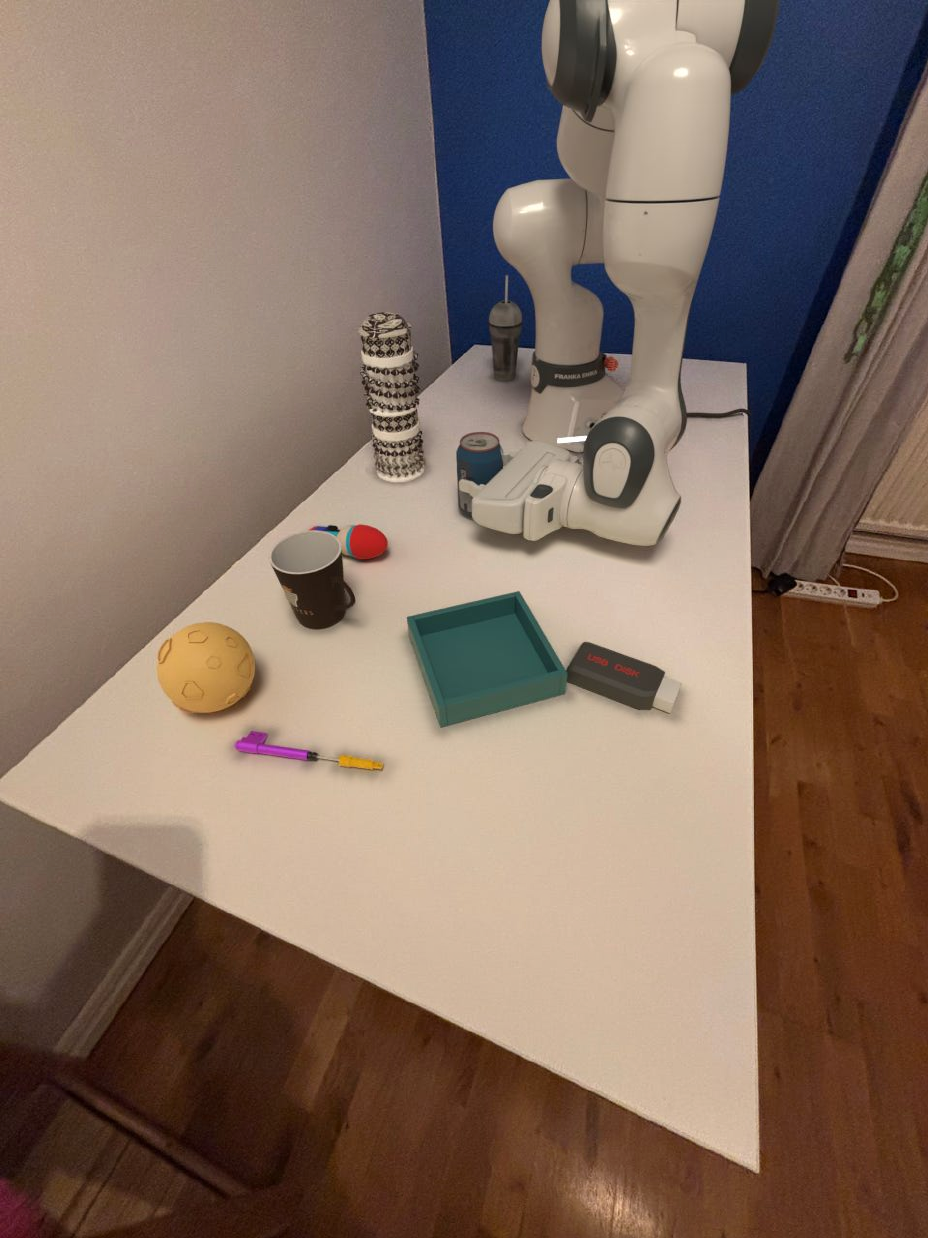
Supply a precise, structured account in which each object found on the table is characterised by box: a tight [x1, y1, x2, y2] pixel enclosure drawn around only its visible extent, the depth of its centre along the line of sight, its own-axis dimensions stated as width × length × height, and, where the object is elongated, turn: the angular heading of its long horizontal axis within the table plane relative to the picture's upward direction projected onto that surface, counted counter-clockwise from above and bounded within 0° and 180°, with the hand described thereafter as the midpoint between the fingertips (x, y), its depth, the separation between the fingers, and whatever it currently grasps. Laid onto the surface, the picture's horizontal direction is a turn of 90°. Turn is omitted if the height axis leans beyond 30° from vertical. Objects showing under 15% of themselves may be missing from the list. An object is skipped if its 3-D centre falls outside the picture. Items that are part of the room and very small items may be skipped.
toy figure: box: [309, 523, 389, 560], centre depth 87 cm, size 8×5×15 cm
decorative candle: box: [356, 311, 426, 483], centre depth 96 cm, size 9×9×25 cm
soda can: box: [455, 431, 504, 521], centre depth 90 cm, size 7×7×12 cm
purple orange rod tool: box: [234, 730, 384, 771], centre depth 62 cm, size 3×1×16 cm
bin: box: [406, 590, 568, 728], centre depth 70 cm, size 15×15×4 cm
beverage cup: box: [487, 274, 524, 382], centre depth 126 cm, size 7×7×20 cm
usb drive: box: [565, 641, 683, 714], centre depth 67 cm, size 5×12×3 cm, turn 60°
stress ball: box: [156, 621, 256, 715], centre depth 65 cm, size 10×10×10 cm
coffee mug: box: [268, 529, 356, 630], centre depth 74 cm, size 12×9×10 cm
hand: (474, 470), depth 90 cm, fingers closed on soda can, 7 cm apart
